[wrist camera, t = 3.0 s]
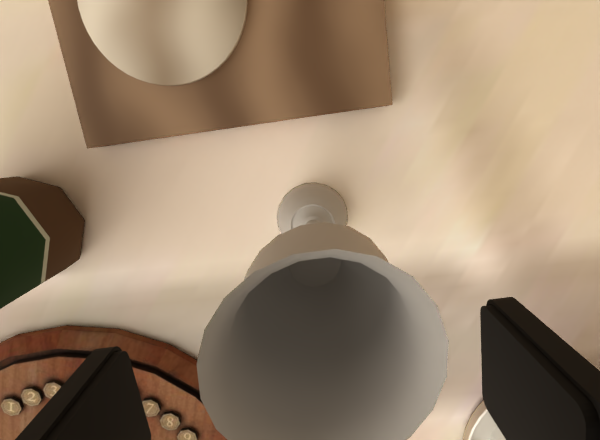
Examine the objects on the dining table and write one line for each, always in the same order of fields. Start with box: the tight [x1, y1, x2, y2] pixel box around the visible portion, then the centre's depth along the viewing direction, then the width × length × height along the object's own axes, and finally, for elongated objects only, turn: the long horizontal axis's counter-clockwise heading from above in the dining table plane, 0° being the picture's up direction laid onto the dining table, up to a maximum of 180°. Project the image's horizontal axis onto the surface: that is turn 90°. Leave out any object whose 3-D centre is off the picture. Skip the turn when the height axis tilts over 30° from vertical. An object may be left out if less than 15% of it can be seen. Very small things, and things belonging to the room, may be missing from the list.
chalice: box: [197, 183, 449, 440], centre depth 20 cm, size 7×7×18 cm
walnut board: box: [48, 0, 392, 148], centre depth 24 cm, size 20×14×2 cm
